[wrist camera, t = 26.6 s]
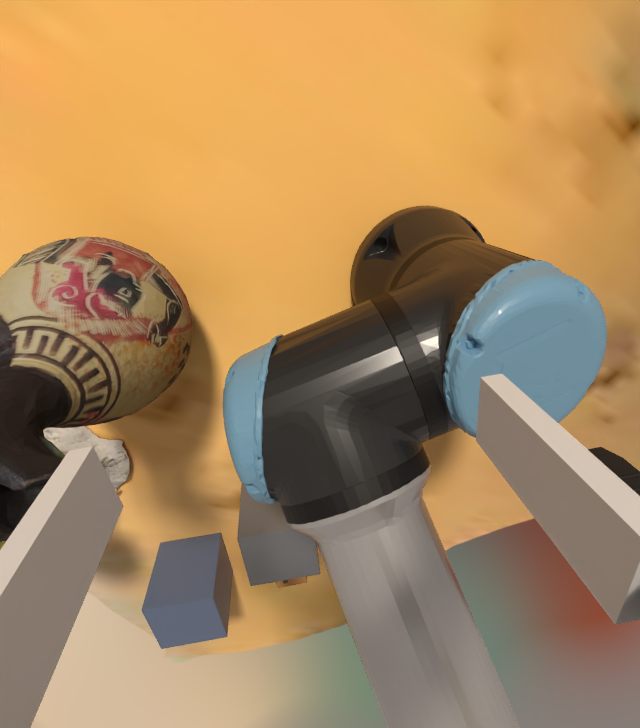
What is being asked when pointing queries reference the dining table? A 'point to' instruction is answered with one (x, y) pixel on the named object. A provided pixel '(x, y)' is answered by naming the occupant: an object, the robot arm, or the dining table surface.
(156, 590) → the slate blue cube
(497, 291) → the robot arm
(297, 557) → the matte gray cube
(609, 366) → the dining table surface
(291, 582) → the letter cube
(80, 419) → the ceramic jug
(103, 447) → the grey piece
